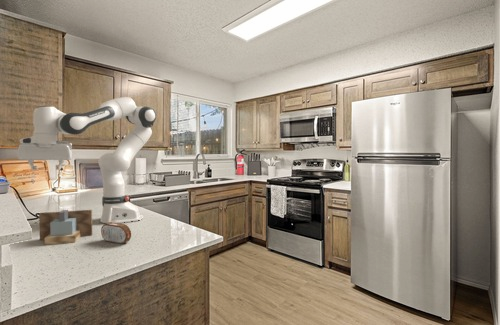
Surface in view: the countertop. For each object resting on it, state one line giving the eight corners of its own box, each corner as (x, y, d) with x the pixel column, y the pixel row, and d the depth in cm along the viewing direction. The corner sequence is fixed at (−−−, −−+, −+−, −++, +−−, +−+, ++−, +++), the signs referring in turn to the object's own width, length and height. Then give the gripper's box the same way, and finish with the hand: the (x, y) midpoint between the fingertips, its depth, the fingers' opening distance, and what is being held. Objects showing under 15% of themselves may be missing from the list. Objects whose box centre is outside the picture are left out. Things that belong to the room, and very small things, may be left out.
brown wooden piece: (92, 234, 120) (92, 209, 120) (87, 240, 111) (86, 214, 111) (41, 239, 113) (40, 212, 112) (31, 246, 104) (30, 217, 104)
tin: (131, 243, 109) (131, 224, 109) (126, 245, 106) (125, 226, 106) (105, 239, 114) (105, 220, 114) (99, 241, 111) (99, 222, 111)
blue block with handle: (76, 230, 116) (76, 209, 116) (72, 234, 111) (72, 212, 110) (55, 232, 113) (55, 210, 113) (50, 236, 108) (50, 213, 107)
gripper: (73, 141, 124) (74, 168, 125) (22, 140, 117) (22, 169, 117) (69, 140, 118) (70, 169, 119) (15, 139, 111) (15, 170, 112)
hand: (46, 169), depth 118 cm, fingers open, 8 cm apart
